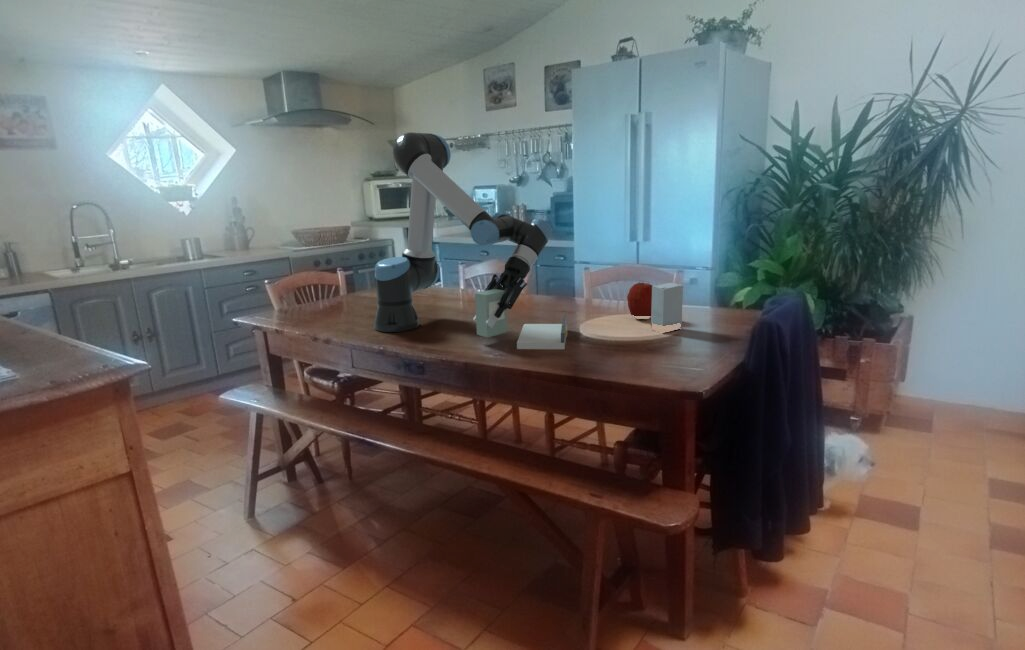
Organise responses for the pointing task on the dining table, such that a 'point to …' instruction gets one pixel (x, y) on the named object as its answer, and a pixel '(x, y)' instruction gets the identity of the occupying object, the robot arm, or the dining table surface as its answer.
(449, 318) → the dining table surface
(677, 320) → the skincare box
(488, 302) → the product carton
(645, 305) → the apple
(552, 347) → the shelf board
